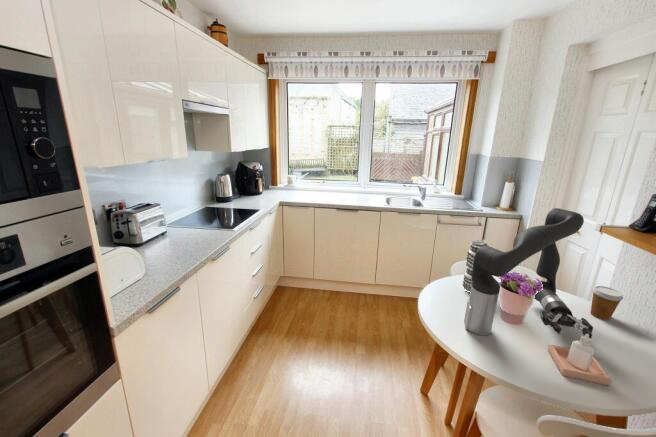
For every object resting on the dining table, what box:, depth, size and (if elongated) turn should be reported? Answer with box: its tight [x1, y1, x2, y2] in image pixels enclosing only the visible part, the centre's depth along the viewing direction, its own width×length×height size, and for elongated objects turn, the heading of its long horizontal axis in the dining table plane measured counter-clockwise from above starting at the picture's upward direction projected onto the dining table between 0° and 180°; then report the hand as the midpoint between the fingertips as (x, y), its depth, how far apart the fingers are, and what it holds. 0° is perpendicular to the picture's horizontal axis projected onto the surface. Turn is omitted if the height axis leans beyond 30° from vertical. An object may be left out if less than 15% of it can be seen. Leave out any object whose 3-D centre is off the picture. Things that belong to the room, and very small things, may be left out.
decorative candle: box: [462, 240, 489, 292], centre depth 140 cm, size 9×9×25 cm
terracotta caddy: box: [547, 343, 611, 386], centre depth 97 cm, size 12×12×2 cm
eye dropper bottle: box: [567, 334, 595, 371], centre depth 95 cm, size 4×6×12 cm
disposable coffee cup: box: [590, 285, 624, 321], centre depth 124 cm, size 10×10×12 cm
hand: (574, 334), depth 100 cm, fingers open, 8 cm apart
